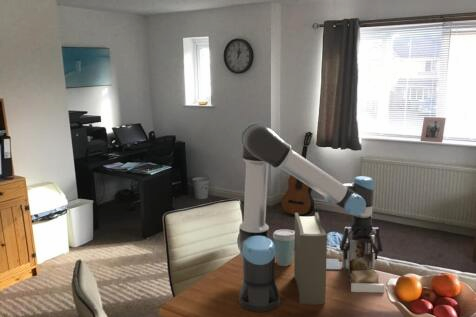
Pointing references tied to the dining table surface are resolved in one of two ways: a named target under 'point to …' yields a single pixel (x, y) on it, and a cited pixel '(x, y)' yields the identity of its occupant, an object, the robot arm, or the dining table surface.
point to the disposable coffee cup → (284, 246)
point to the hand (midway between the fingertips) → (359, 266)
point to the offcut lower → (365, 282)
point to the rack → (363, 286)
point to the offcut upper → (364, 276)
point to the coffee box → (360, 254)
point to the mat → (333, 264)
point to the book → (310, 259)
